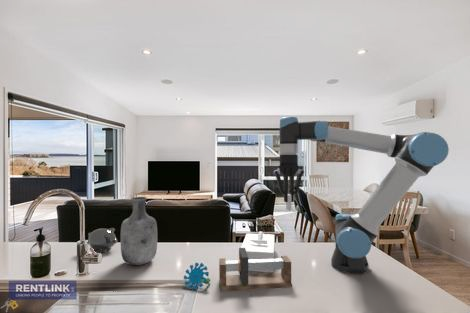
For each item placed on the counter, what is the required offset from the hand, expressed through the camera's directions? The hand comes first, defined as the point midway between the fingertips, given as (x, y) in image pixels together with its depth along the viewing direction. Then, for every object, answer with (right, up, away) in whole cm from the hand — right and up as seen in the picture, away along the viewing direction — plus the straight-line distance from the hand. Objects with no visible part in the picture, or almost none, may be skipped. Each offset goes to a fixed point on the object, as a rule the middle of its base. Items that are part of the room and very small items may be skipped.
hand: (288, 209), depth 113 cm
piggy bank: (-91, -27, +25) cm, 99 cm away
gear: (-37, -27, -11) cm, 47 cm away
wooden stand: (-15, -27, -9) cm, 32 cm away
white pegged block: (-12, -27, +13) cm, 32 cm away
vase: (-67, -27, +11) cm, 73 cm away
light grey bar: (-15, -21, -9) cm, 28 cm away
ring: (-19, -25, -9) cm, 33 cm away
